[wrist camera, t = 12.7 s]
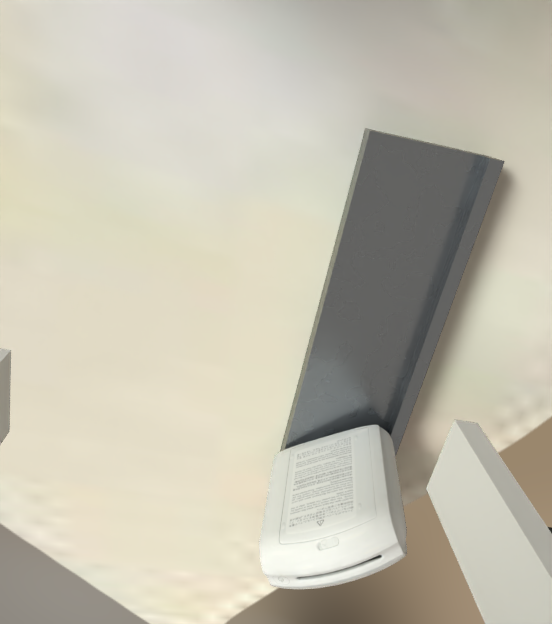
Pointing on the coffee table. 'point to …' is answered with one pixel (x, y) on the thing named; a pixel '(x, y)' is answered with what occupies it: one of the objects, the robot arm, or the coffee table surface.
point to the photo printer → (333, 511)
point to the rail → (389, 284)
